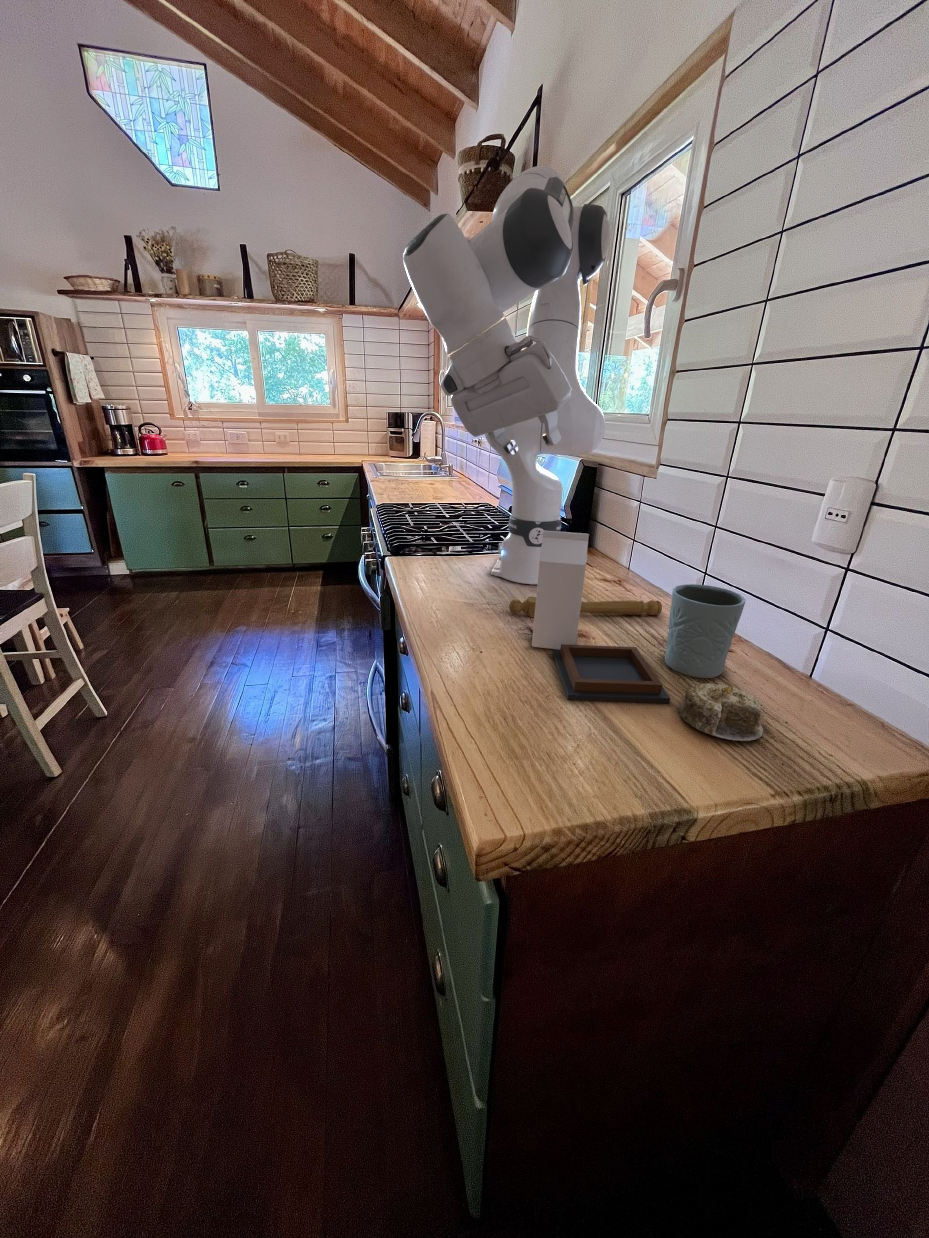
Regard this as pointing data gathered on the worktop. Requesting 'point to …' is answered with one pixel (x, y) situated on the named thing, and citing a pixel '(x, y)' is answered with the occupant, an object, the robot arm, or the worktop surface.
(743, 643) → the worktop surface
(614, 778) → the worktop surface
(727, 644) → the blue plant pot
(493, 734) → the worktop surface
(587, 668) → the shallow square tray
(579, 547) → the milk carton
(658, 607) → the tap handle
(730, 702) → the cake
